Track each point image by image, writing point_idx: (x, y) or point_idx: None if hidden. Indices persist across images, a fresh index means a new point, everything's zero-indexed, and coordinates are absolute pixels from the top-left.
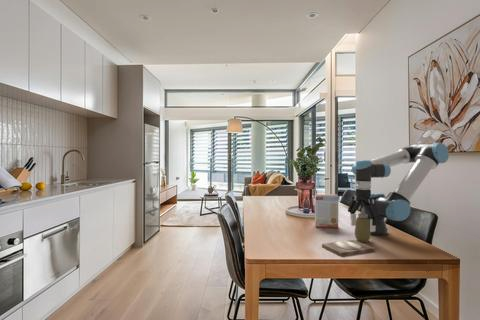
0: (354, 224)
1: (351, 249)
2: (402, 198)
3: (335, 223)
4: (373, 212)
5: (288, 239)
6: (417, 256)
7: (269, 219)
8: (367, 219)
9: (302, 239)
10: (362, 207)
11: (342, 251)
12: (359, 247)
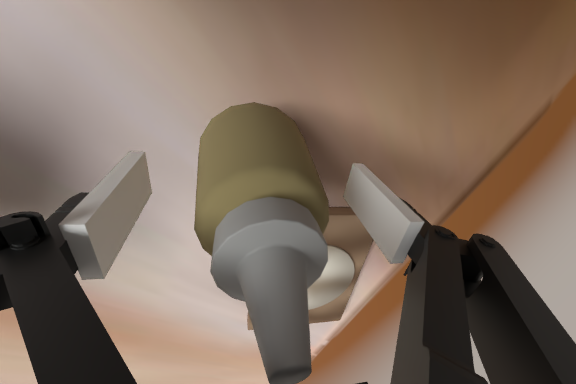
0: (144, 172)
1: (342, 291)
2: None
3: None
4: (479, 327)
5: (131, 367)
6: (520, 107)
7: None
8: (322, 221)
9: (142, 338)
10: (285, 380)
11: (334, 313)
12: (349, 265)
